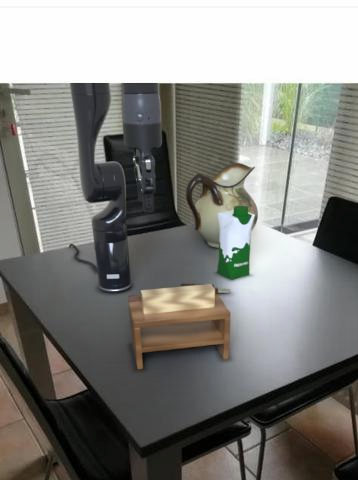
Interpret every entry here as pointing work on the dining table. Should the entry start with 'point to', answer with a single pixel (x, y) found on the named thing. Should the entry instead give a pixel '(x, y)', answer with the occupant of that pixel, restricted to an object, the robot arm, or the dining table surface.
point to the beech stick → (178, 298)
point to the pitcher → (219, 199)
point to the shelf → (178, 328)
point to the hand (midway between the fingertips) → (145, 206)
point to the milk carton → (235, 242)
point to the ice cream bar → (212, 285)
